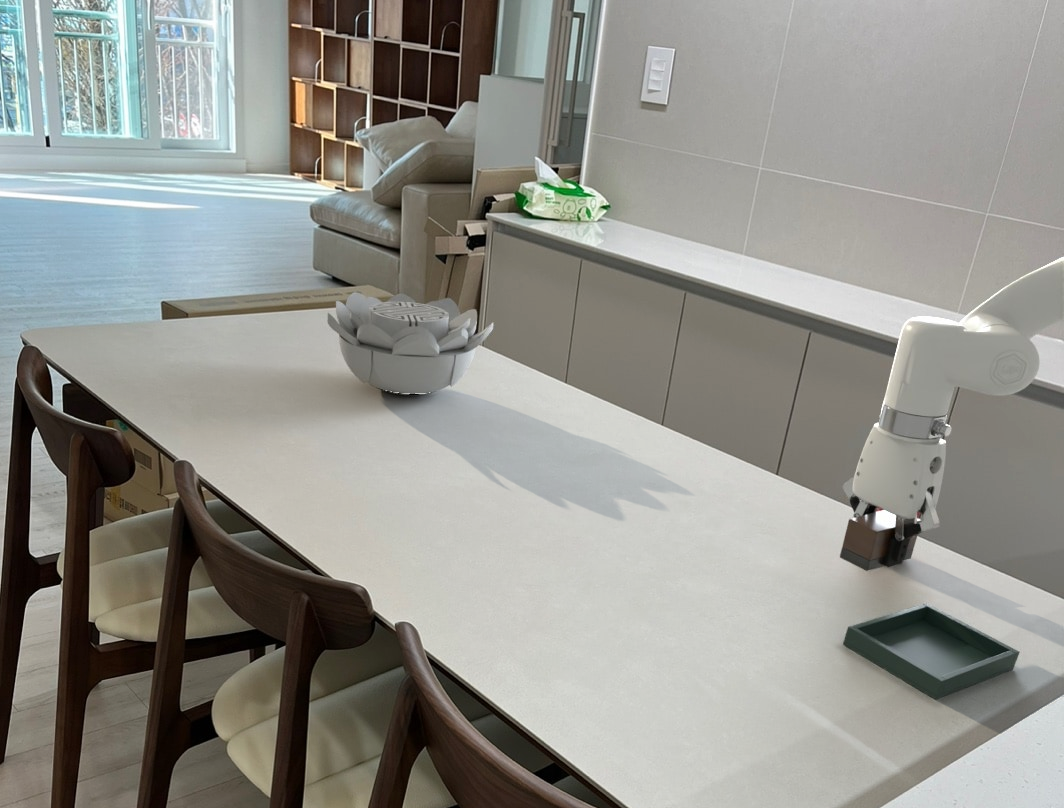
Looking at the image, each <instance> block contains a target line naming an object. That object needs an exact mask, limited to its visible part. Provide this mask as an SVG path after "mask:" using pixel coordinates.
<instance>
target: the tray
mask: <svg viewBox="0 0 1064 808" xmlns="http://www.w3.org/2000/svg"><path fill="white" fill-rule="evenodd" d="M842 645H843V646H845V647H847V648H848V649H850V650H852V651H853V652H855V653H857V654H859V655H860V656H861V657H863V658H865V659H867V660H868V661H870V662H871V663H873V664H875V665H877V666H878V667H880V668H882V669H883V670H885V671H887V672H888V673H890V674H892V676H895V677H897V679H900V680H902V681H903V682H905V683H907V684H909V685H910V686H912V687H914V688H915V689H917V690H919V691H920V692H922V693H924V694H925V695H927V696H929V697H930V698H932V699H933V700H939V699H940V698H943V697H945V696H948V695H951V694H954V693H956V692H958V691H961V690H963V689H966V688H969V687H972V686H974V685H976V684H979V683H982V682H983V681H984V682H985V681H987V680H989V679H993V678H995V677H997V676H999V675H1002V674H1005V673H1008V672H1010V671H1013V670H1014V669H1015V666H1016V663H1017V660H1018V658H1019V655H1020V651H1019V650H1017V649H1016V648H1013V647H1011V646H1009V645H1007V644H1006V643H1004V642H1002V641H1000V640H998V639H997V638H995V637H992V636H990V635H989V634H987V633H985V632H983V631H981V630H980V629H977V628H975V627H973V626H972V625H970V624H968V623H965V622H964V621H962V620H960V619H958V618H956V617H954V616H952V615H951V614H948V613H947V612H944V611H943V610H941V609H939V608H937V607H936V606H933V605H932V604H930V603H928V602H924V603H922V604H918V605H915V606H912V607H909V608H905V609H901V610H899V611H896V612H892V613H889V614H886V615H882V616H879V617H875V618H872V619H870V620H866V621H863V622H860V623H856V624H853V625H850V626H848V627H847V629H846V632H845V635H844V639H843V642H842Z"/></svg>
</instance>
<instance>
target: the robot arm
mask: <svg viewBox="0 0 1064 808" xmlns="http://www.w3.org/2000/svg"><path fill="white" fill-rule="evenodd" d="M1062 322H1064V256H1063V257H1060V258H1058V259H1056V260H1055V261H1053V262H1050V263H1048V264H1046V265H1043V266H1042V267H1040V268H1038V269H1035V270H1033V271H1031V272H1029V273H1027V274H1025V275H1023V276H1021V277H1020V278H1018V279H1016V280H1014V281H1013V282H1011V283H1010V284H1008V285H1006V286H1004V287H1003V288H1002V289H1000V290H999V291H997V292H996V293H995V294H993V295H992V296H991V297H990V298H988V299H987V300H985V301H984V302H982V303H981V304H980V305H978V306H977V307H976V308H974V309H973V310H972V311H970V312H969V313H968V314H966V316H964V318H962V319H961V320H960V321H959V322H957V321H954V320H951V319H946V318H941V317H933V316H916V317H911V318H909V319H908V320H907V321H906V322H905V323H904V324H903V326H902V329H901V332H900V335H899V339H898V343H897V347H896V351H895V355H894V358H893V363H892V367H891V370H890V375H889V379H888V382H887V387H886V391H885V395H884V399H883V403H882V407H881V412H880V415H879V418H878V422H876V423H874V425H873V426H872V429H871V430H870V431H869V435H868V436H867V439H866V441H865V443H864V446H863V448H862V451H861V454H860V457H859V459H858V462H857V466H856V470H855V472H854V475H852V477H851V478H849V479H848V480H847V481H845V482H844V483H843V485H842V490H843V492H844V493H845V495H846V497H847V499H848V500H849V504H850V506H851V508H852V511H853V515H852V516H853V517H852V518H854V517H858V516H863V515H867V514H871V513H875V512H876V511H877V509H878V508H881V509H883V510H885V511H887V512H890V513H892V514H894V515H896V518H895V537H893V538H890V540H889V543H888V547H887V551H886V554H885V558H884V562H883V564H884V566H883V567H886V568H891V567H895V566H899V565H901V564H902V563H903V562H904V561H905V560H904V559H905V556H906V552H907V548H908V545H909V541H910V538H912V537H915V536H916V535H917V536H918V535H920V534H922V533H924V532H926V531H930V530H934V529H937V528H939V527H940V525H941V522H940V518H939V515H938V512H937V509H936V508H937V505H938V501H939V497H940V493H941V489H942V485H943V479H944V472H945V466H946V458H947V457H946V454H947V441H946V440H945V439H943V438H942V436H943V437H945V438H947V437H949V436H950V435H951V433H952V430H953V427H952V426H951V425H949V424H947V420H948V412H949V409H950V405H951V401H952V398H953V395H954V391H955V387H957V388H961V389H966V390H969V391H973V392H976V393H980V394H984V395H988V396H989V395H990V396H998V397H999V396H1000V397H1001V396H1009V395H1013V394H1016V393H1019V392H1021V391H1022V390H1025V389H1026V388H1027V387H1028V386H1029V385H1030V384H1031V383H1032V382H1033V381H1034V380H1035V378H1036V376H1037V375H1038V372H1039V368H1040V354H1039V351H1038V349H1037V347H1036V345H1035V344H1034V343H1033V341H1031V339H1032V338H1033V337H1035V336H1036V335H1038V334H1040V333H1042V332H1043V331H1045V330H1047V329H1049V328H1051V327H1054V326H1055V325H1057V324H1060V323H1062ZM917 512H918V513H920V514H921V516H922V519H921V522H919V523H917ZM903 560H904V561H903Z"/></svg>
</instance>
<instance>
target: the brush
mask: <svg viewBox="0 0 1064 808" xmlns="http://www.w3.org/2000/svg"><path fill="white" fill-rule="evenodd" d="M895 518H896V515H894V514H892V513H890V512H887V511H885V510H883V511H879V512H875V513H871V514H867V515H863V516H858V517H851V518H848V522H847V526H846V530H845V534H844V537H843V541H842V547H841V549H840V553H839V559H842V560H844V561H846V562H848V563H850V564H852V565H854V566H856V567H858V568H860V569H862V570H863V571H865V572H869V571H872V570H876V569H879V568H883V567H885V566H884V564H883V562H884V558H885V554H886V551H887V547H888V543H889V540H890V538H893V537H895ZM919 522H922V519H920V518H918V519H917V523H919ZM917 538H918V535H916V536H915V537H912V538H910V541H909V545H908V548H907V552H906V556H905V559H904V560H903V561H902V562H904V561H908V560H910V559H912V556H913V552H914V548H915V545H916V541H917Z"/></svg>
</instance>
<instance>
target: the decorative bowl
mask: <svg viewBox="0 0 1064 808" xmlns="http://www.w3.org/2000/svg"><path fill="white" fill-rule="evenodd" d="M460 311H461V310H460V309H459V307H458V305H457V303H456V302H455V300H453V299H452V298H450V297H445V298H441V299H439V300H432V301H429V302H427V303H425V304H424V303H418V302H416V301H415V300H414V299H413V298H412V297H411V296H409V295H408V294H406V293H398V294H395V295H393V296H392V297H390V298H389V299H388V300H387V301H381V300H380V299H379V298H377V297H373V296H365V295H364V294H362V293H359V292H356V291H354V292H352V293H351V294H350V295H348V298H347V300H346V303H345V304H344V303H343V302H342V301H339V300H335V314H336V315H335V316H336V317H334V316H333V315H332V314H330V313H329V312H327V316H326V317H327V319H326V322H327V325H328V326H329V327H330V329H332V330H333V331H334V332H335V333H337V334H338V341H339V347H340V351H341V355H342V358H343V360H344V362H345V363H346V365H347V367H348V369H349V370H350V371H351V373H352V374H353V375H354V376H355V378H357V379H358V380H359V381H360V382H361V383H363V384H368V385H370V386H371V387H374V388H376V387H377V388H376V389H378V388H380V389H379V390H381V389H383V390H382V391H383V392H385V393H388V392H387V391H392V392H399V393H410V394H415V393H429V392H433V393H435V392H434V391H436V392H438V390H439V391H441V390H443V389H446V388H447V387H449V386H450V387H451V388H452V387H453V386H454V385H456V384H457V383H458V382H459V381H460V380H461V379H462V378H463V377H464V375H465V374H466V373H467V371H468V370H469V369H470V366H471V364H472V361H473V359H474V356H475V353H476V348H477V347H479V346H480V345H481V344H482V343H483V342H484V341H485V340H486V339H487V338H488V337H489V335H490V334H491V332H492V331H493V329H494V322H491V323H490V324H489V325H487V327H486V328H484V329H483V330H481V331H479V332H477V333H476V330H477V323H478V311H477V309H476V308H472V309H468V310H466V311H464V312H463V313H461V312H460ZM336 319H337V320H336ZM384 390H387V391H384ZM392 392H389V393H390V394H393V393H392ZM394 394H395V395H399V394H398V393H394ZM429 394H430V393H429ZM400 395H403V396H410V395H409V394H400ZM423 395H424V394H419V395H418V396H423Z"/></svg>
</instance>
